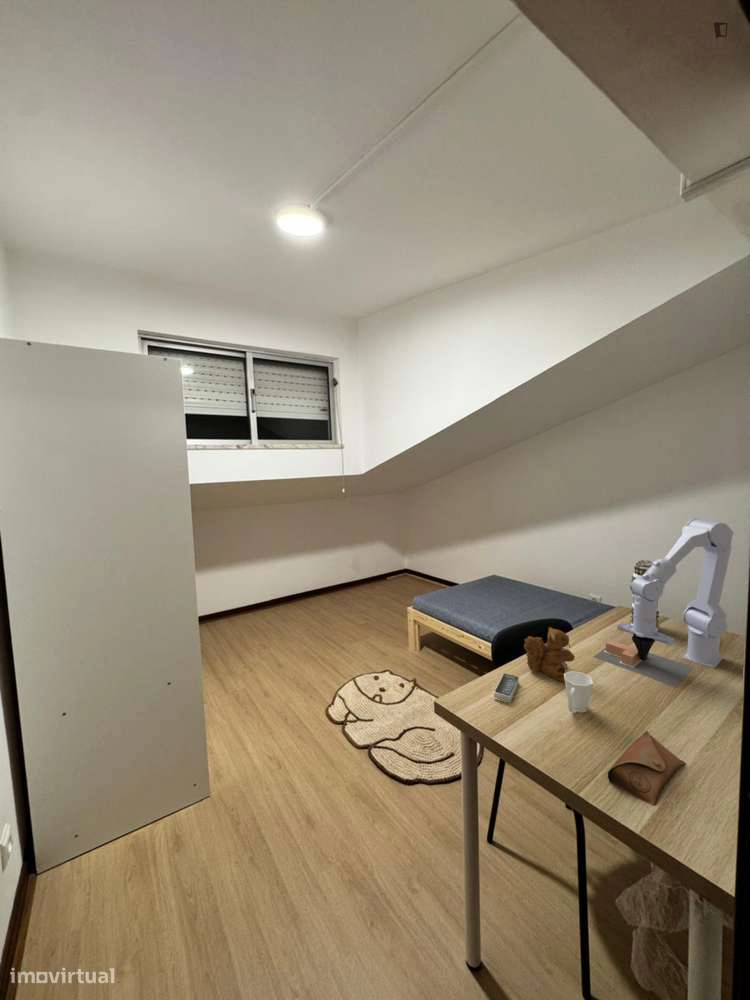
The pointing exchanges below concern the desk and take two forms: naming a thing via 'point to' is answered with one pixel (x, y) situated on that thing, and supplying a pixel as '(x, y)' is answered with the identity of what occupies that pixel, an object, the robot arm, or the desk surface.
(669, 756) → the sunglasses case
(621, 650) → the t block
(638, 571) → the white patterned cylinder
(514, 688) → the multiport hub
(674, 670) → the mat
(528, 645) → the stuffed squirrel
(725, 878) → the desk surface
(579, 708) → the cup
